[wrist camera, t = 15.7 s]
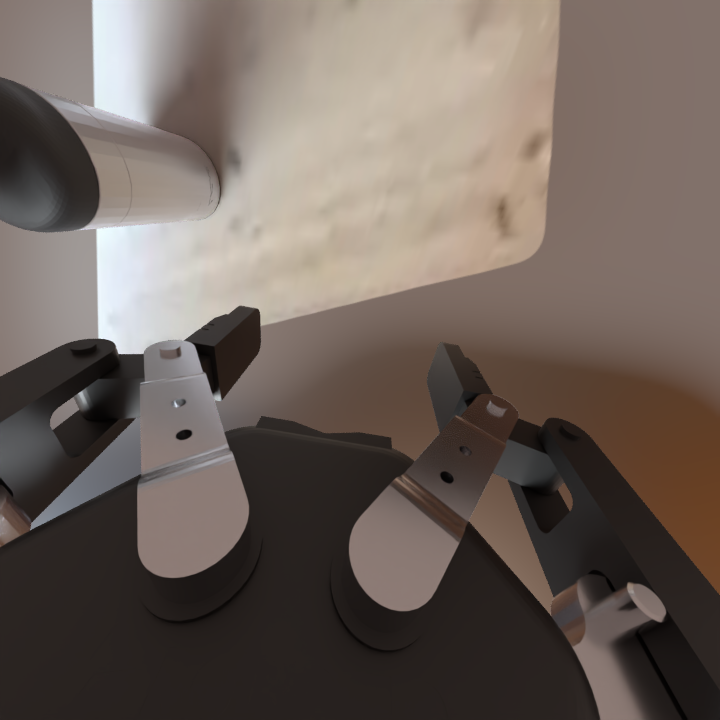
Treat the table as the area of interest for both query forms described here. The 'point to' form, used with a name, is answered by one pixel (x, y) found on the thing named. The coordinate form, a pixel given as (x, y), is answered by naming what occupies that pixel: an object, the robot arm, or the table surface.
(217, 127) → the table surface
